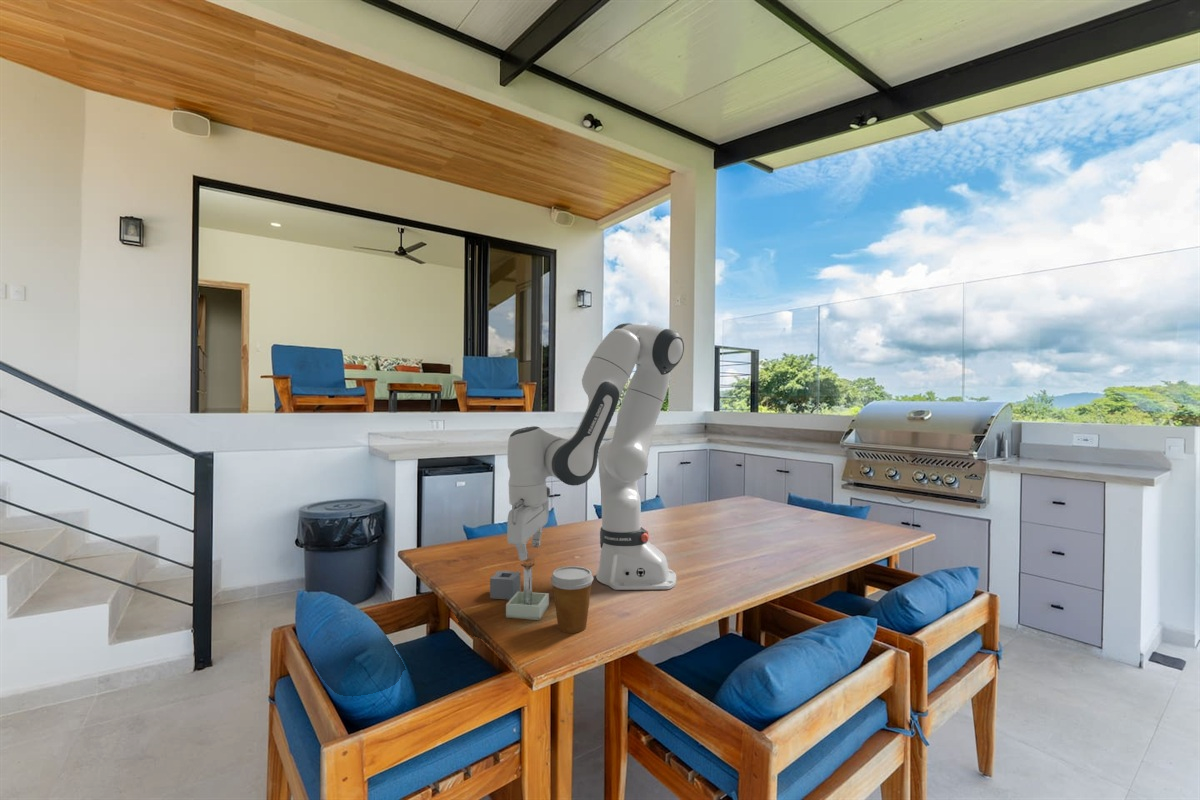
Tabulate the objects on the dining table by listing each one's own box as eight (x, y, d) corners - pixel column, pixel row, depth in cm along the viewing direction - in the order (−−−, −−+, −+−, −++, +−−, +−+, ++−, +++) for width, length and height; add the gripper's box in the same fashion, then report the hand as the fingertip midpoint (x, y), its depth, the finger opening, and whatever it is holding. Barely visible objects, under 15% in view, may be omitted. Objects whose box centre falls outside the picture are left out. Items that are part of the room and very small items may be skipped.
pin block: (520, 590, 132) (520, 571, 132) (512, 599, 126) (512, 579, 126) (498, 589, 133) (498, 570, 133) (490, 598, 127) (490, 578, 127)
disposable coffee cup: (602, 628, 110) (602, 574, 110) (565, 641, 104) (564, 583, 104) (578, 613, 118) (578, 562, 118) (542, 624, 112) (542, 570, 112)
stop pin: (536, 606, 120) (536, 556, 120) (532, 612, 117) (532, 560, 117) (523, 605, 121) (523, 555, 121) (519, 611, 118) (519, 560, 118)
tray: (548, 605, 122) (548, 593, 122) (539, 619, 114) (539, 606, 114) (517, 603, 124) (517, 591, 124) (506, 617, 116) (506, 604, 116)
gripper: (526, 504, 109) (528, 568, 109) (552, 487, 129) (554, 540, 129) (498, 504, 110) (501, 567, 110) (528, 487, 130) (530, 540, 130)
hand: (530, 552), depth 119 cm, fingers open, 8 cm apart
